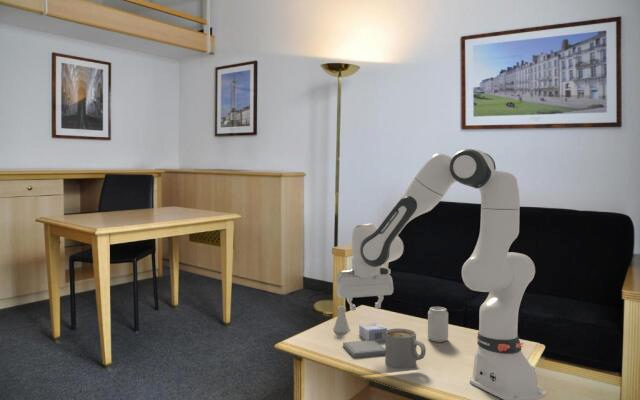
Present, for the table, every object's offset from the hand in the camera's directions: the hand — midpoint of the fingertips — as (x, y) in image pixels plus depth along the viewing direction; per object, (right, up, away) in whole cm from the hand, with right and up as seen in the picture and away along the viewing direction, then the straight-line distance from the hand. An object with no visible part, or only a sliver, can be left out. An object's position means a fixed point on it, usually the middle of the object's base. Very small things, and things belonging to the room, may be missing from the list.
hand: (365, 309), depth 177 cm
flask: (-7, -14, +23) cm, 28 cm away
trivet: (0, -15, +1) cm, 15 cm away
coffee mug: (+12, -16, -12) cm, 23 cm away
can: (+29, -15, +13) cm, 35 cm away
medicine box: (+6, -12, +11) cm, 17 cm away
